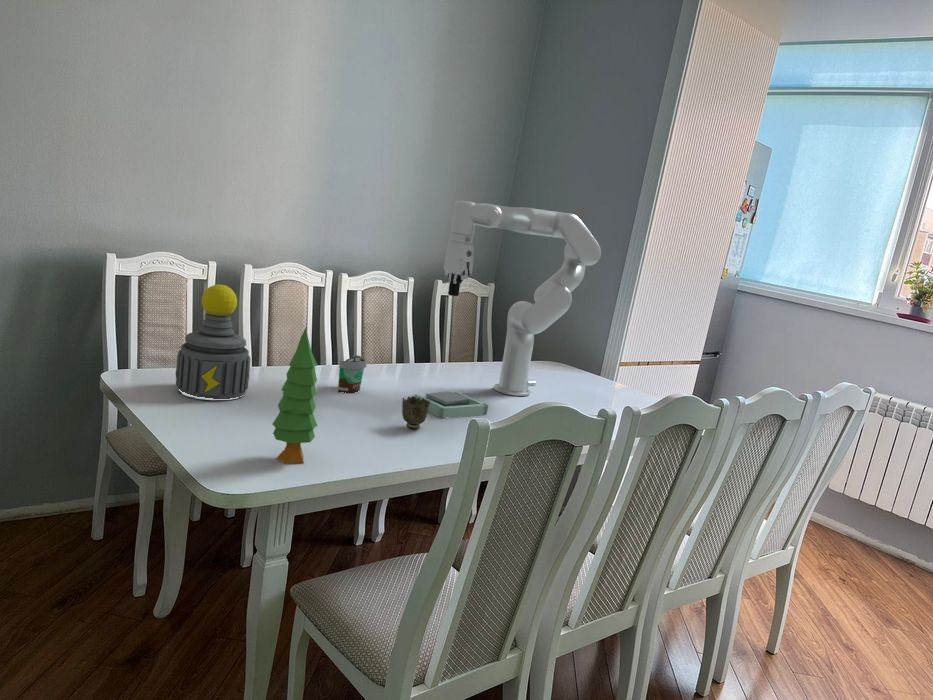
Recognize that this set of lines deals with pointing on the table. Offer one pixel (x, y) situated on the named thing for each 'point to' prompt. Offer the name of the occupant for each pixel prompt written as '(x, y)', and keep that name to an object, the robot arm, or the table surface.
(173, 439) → the table surface
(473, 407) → the bay
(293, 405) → the decorative tree
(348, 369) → the food container
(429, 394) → the gray rectangular block
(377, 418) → the table surface
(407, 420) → the cup
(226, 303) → the decorative lamp
